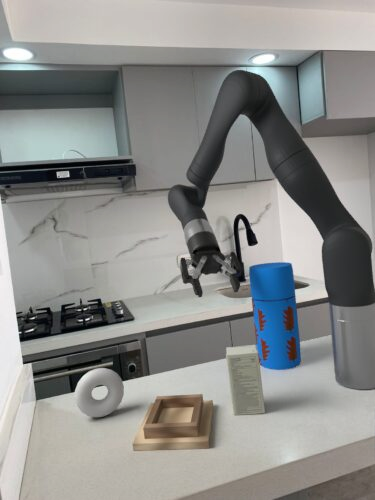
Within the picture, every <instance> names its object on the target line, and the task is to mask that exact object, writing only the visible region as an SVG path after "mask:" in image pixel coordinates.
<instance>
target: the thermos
mask: <svg viewBox="0 0 375 500" xmlns="http://www.w3.org/2000/svg"><path fill="white" fill-rule="evenodd" d="M248 269H249V270H248V276H249V286H250V295H251V304H252V315H253V324H254V326H253V327H254V333H255V345H256V347H257V350H258V356H259V364H260V366H261V367H263V368H265V369H268V370H275V371H276V370H277V371H280V370H283V371H284V370H285V371H286V370H291V369H294V368H296V366H297V367H298V366H300V364H301V363H302V362H301V361H302V360H301V357H302V356H301V355H302V353H301V340H300V332H299V331H300V329H299V321H298V320H299V319H298V310H297V295H296V287H295V275H294V268H293V265H292V262H285V261H284V262H281V261H280V262H279V261H278V262H266V263H258V264H254V265H251V266H249V267H248ZM300 362H301V363H300ZM290 368H291V369H290Z"/></svg>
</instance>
